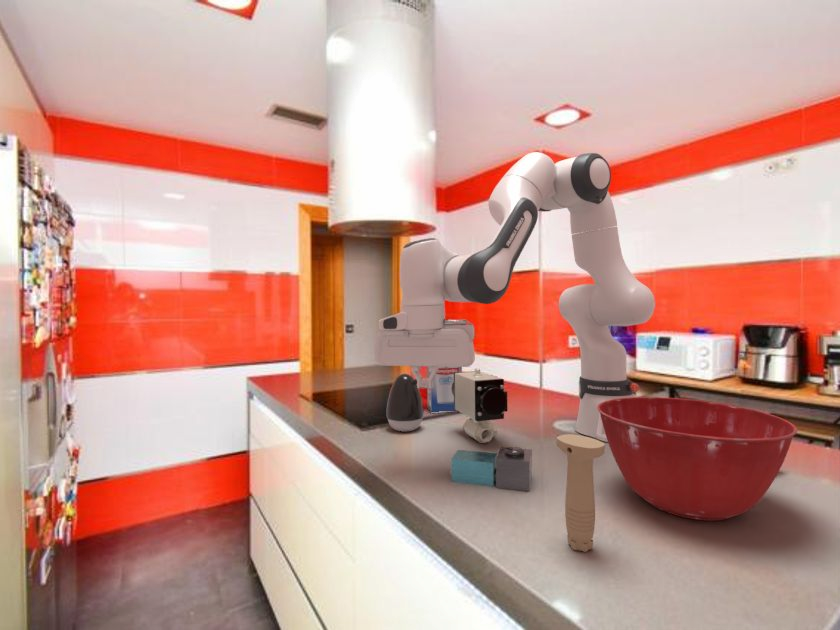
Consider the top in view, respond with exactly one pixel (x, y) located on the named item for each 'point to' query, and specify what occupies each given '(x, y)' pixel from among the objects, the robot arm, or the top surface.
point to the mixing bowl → (695, 453)
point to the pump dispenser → (405, 404)
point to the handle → (580, 488)
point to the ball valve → (479, 402)
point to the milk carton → (442, 389)
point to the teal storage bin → (474, 467)
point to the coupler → (513, 469)
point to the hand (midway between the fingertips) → (425, 387)
